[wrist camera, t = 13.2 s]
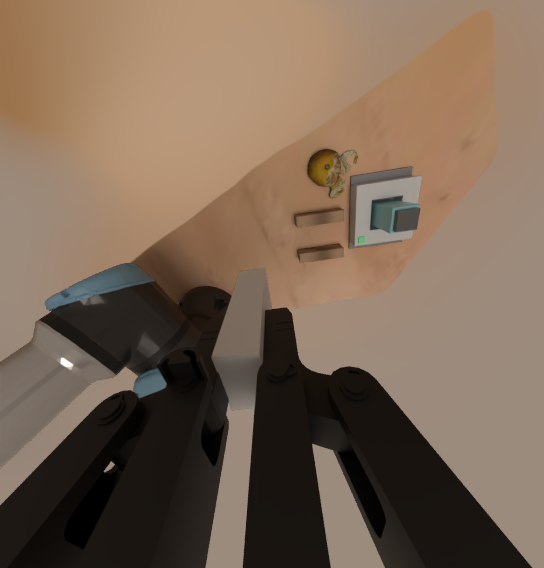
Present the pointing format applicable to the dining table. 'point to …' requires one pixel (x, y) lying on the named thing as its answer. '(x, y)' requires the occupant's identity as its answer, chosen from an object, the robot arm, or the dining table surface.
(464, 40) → the dining table surface
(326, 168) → the fruit
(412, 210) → the plug
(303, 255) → the pair of wooden rails
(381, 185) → the port
